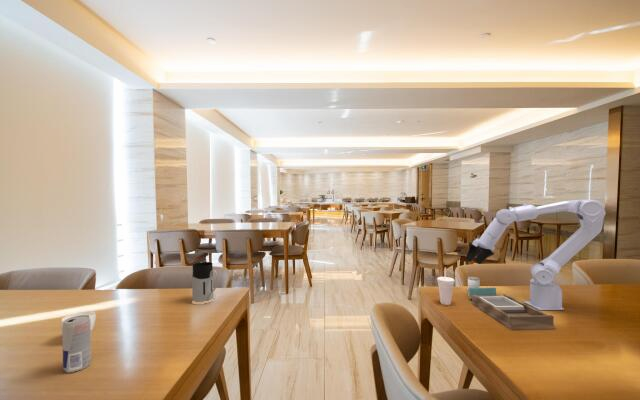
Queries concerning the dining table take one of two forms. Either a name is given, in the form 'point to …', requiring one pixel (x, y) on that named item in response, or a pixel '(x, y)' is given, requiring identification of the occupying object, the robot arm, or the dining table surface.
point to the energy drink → (76, 343)
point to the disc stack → (473, 282)
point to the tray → (497, 300)
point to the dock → (516, 315)
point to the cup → (89, 313)
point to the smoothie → (445, 289)
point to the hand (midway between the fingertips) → (472, 261)
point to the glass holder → (203, 281)
